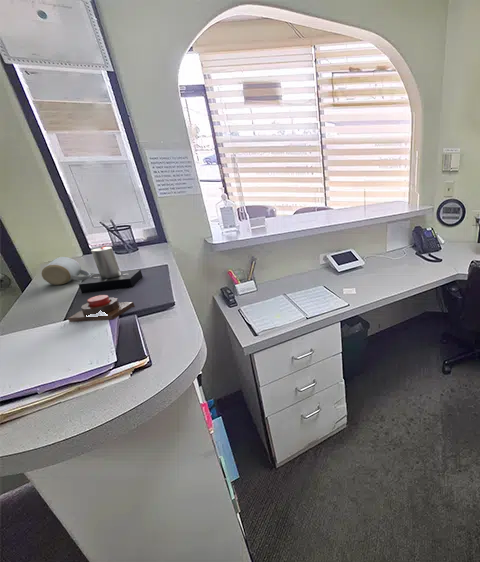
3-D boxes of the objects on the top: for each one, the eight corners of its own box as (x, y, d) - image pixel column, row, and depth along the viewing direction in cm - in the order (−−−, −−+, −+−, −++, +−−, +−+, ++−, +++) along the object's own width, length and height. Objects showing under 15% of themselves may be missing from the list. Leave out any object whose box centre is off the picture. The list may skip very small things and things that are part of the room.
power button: (85, 308, 75) (82, 301, 74) (97, 301, 79) (95, 295, 78) (102, 307, 75) (100, 300, 75) (114, 300, 79) (112, 294, 78)
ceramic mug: (44, 287, 98) (34, 264, 96) (56, 279, 106) (48, 258, 103) (86, 282, 102) (78, 260, 100) (95, 275, 109) (88, 254, 107)
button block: (71, 326, 74) (64, 311, 73) (96, 311, 82) (91, 297, 80) (114, 323, 75) (109, 309, 73) (135, 309, 82) (131, 295, 81)
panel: (81, 293, 93) (78, 284, 92) (97, 282, 102) (93, 273, 101) (132, 287, 97) (129, 278, 96) (143, 277, 106) (140, 268, 105)
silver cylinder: (117, 277, 97) (107, 248, 94) (98, 279, 96) (87, 250, 92) (123, 272, 102) (114, 245, 98) (105, 274, 100) (95, 246, 97)
